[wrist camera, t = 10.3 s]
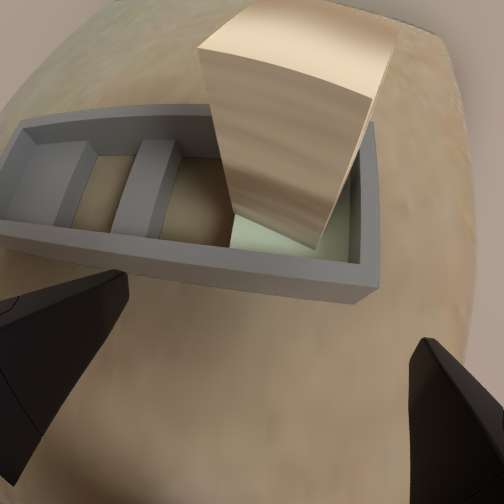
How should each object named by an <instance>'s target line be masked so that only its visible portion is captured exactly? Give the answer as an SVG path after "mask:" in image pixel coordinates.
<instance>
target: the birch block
mask: <svg viewBox="0 0 504 504" xmlns="http://www.w3.org/2000/svg"><path fill="white" fill-rule="evenodd" d="M400 27H401V26H399V25H397V24H394V23H392V22H389V21H386V20H384V19H381V18H378V17H376V16H373V15H370V14H367V13H364V12H361V11H358V10H355V9H352V8H348V7H345V6H342V5H338V4H335V3H331V2H327V1H323V0H257V1H255V2H254V3H252V4H251V5H250V6H248V7H247V8H246V9H244V10H243V11H242V12H240V13H239V14H238V15H236V16H235V17H234V18H232V19H231V20H230V21H229V22H227V23H226V24H225V25H224V26H222V27H221V28H220V29H219V30H217V31H216V32H215V33H214V34H213V35H211V36H210V37H209V38H208V39H207V40H206V41H204V42H203V43H202V44H201V45H200V46H199V47H198V48H197V49H198V54H199V58H200V63H201V68H202V72H203V77H204V81H205V86H206V91H207V95H208V100H209V105H210V109H211V114H212V118H213V123H214V127H215V132H216V136H217V141H218V145H219V150H220V154H221V159H222V163H223V168H224V172H225V177H226V181H227V186H228V190H229V195H230V199H231V204H232V208H233V212H234V213H235V214H237V215H239V216H241V217H244V218H246V219H248V220H250V221H252V222H255V223H257V224H259V225H261V226H263V227H266V228H268V229H270V230H272V231H274V232H276V233H279V234H281V235H283V236H285V237H287V238H289V239H291V240H294V241H296V242H298V243H300V244H302V245H304V246H306V247H309V248H311V249H313V250H315V249H316V247H317V245H318V243H319V241H320V239H321V236H322V234H323V232H324V230H325V228H326V225H327V223H328V221H329V219H330V217H331V214H332V212H333V210H334V208H335V205H336V203H337V201H338V199H339V196H340V194H341V192H342V189H343V187H344V185H345V183H346V180H347V178H348V175H349V173H350V170H351V168H352V165H353V163H354V160H355V157H356V155H357V152H358V150H359V147H360V144H361V142H362V139H363V136H364V134H365V131H366V128H367V126H368V123H369V120H370V117H371V115H372V112H373V109H374V106H375V103H376V101H377V98H378V95H379V92H380V89H381V86H382V83H383V80H384V77H385V74H386V71H387V68H388V65H389V62H390V59H391V56H392V53H393V50H394V47H395V44H396V40H397V37H398V34H399V31H400Z"/></svg>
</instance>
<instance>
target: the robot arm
mask: <svg viewBox="0 0 504 504" xmlns="http://www.w3.org/2000/svg"><path fill="white" fill-rule="evenodd" d="M128 300H129V286H128V276H127V273H126V272H124V271H121V270H117V269H112V270H109V271H105V272H102V273H98V274H94V275H91V276H87V277H83V278H80V279H76V280H73V281H69V282H66V283H62V284H58V285H55V286H51V287H48V288H44V289H41V290H37V291H34V292H30V293H27V294H24V295H21V296H17V297H13V298H10V299H6V300H2V301H0V476H2V477H3V478H4V479H5V480H6V481H7V482H8V483H10V484H11V485H12V486H14V485H15V484H16V482H17V481H18V479H19V477H20V475H21V473H22V472H23V470H24V468H25V466H26V464H27V463H28V461H29V459H30V457H31V456H32V454H33V452H34V450H35V449H36V447H37V445H38V444H39V442H40V440H41V439H42V436H43V435H44V433H45V432H46V430H47V428H48V427H49V425H50V424H51V422H52V420H53V419H54V417H55V415H56V414H57V412H58V411H59V409H60V408H61V406H62V404H63V403H64V401H65V400H66V398H67V397H68V395H69V394H70V392H71V390H72V389H73V387H74V386H75V384H76V383H77V381H78V380H79V378H80V377H81V375H82V374H83V372H84V371H85V369H86V368H87V366H88V365H89V363H90V362H91V361H92V359H93V358H94V356H95V355H96V353H97V352H98V350H99V349H100V348H101V346H102V345H103V343H104V342H105V340H106V339H107V337H108V336H109V334H110V332H111V330H112V329H113V327H114V325H115V323H116V321H117V320H118V318H119V316H120V314H121V313H122V311H123V309H124V307H125V306H126V304H127V302H128ZM408 413H409V431H410V504H504V410H503V407H502V406H501V405H500V404H499V403H498V402H497V401H496V400H495V398H493V396H492V395H491V394H490V393H489V392H488V391H487V390H486V389H485V388H484V387H483V386H482V385H481V384H480V383H479V382H478V381H477V380H476V379H475V378H474V377H473V376H472V375H471V374H470V373H469V372H468V371H467V370H466V369H465V368H464V367H463V366H462V365H461V364H460V363H459V362H458V361H457V360H456V359H455V358H454V357H453V356H452V355H451V354H450V353H449V352H448V351H447V350H446V349H445V348H444V347H443V346H442V345H441V344H440V343H439V342H438V341H437V340H435V339H433V338H426V337H424V338H422V339H421V340H420V341H419V343H418V345H417V347H416V349H415V351H414V353H413V354H412V356H411V359H410V362H409V398H408Z"/></svg>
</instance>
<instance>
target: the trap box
mask: <svg viewBox="0 0 504 504" xmlns="http://www.w3.org/2000/svg"><path fill="white" fill-rule="evenodd" d="M98 155H137V156H136V158H135V161H134V163H133V166H132V169H131V171H130V174H129V177H128V180H127V182H126V185H125V188H124V191H123V194H122V197H121V200H120V203H119V206H118V209H117V212H116V215H115V218H114V221H113V225H112V228H111V231H110V233H104V232H96V231H88V230H80V229H71V225H72V222H73V219H74V216H75V213H76V210H77V207H78V204H79V202H80V199H81V196H82V194H83V191H84V188H85V186H86V183H87V181H88V178H89V176H90V173H91V171H92V168H93V166H94V164H95V161H96V159H97V157H98ZM182 157H200V158H216V159H221V154H220V150H219V145H218V141H217V136H216V132H215V127H214V123H213V118H212V114H211V109H210V105H209V104H161V105H138V106H122V107H110V108H100V109H90V110H82V111H74V112H67V113H60V114H53V115H47V116H41V117H36V118H31V119H25V120H21V122H20V123H19V125H18V127H17V128H16V130H15V132H14V134H13V135H12V137H11V139H10V141H9V143H8V145H7V147H6V148H5V150H4V152H3V154H2V156H1V158H0V246H1V247H3V248H5V249H8V250H12V251H17V252H21V253H26V254H31V255H36V256H40V257H45V258H50V259H55V260H60V261H65V262H70V263H75V264H81V265H86V266H91V267H96V268H102V269H107V270H112V269H117V270H121V271H124V272H126V273H130V274H136V275H142V276H147V277H153V278H160V279H166V280H172V281H178V282H185V283H191V284H198V285H204V286H211V287H218V288H225V289H232V290H239V291H246V292H253V293H261V294H269V295H276V296H284V297H292V298H301V299H309V300H318V301H326V302H335V303H345V304H355V303H357V302H358V301H360V300H362V299H363V298H365V297H366V296H368V295H369V294H371V293H372V292H374V291H375V290H377V289H378V288H379V278H380V205H379V182H378V167H377V154H376V142H375V132H374V123H373V122H370V121H369V123H368V126H367V128H366V131H365V134H364V136H363V139H362V142H361V144H360V147H359V150H358V152H357V155H356V157H355V160H354V163H353V165H352V168H351V170H350V173H349V175H348V178H347V180H346V183H345V185H344V187H343V189H342V192H341V194H340V196H339V199H338V201H337V203H336V205H335V208H334V210H333V212H332V214H331V217H330V219H329V221H328V223H327V225H326V228H325V230H324V232H323V234H322V236H321V239H320V241H319V243H318V245H317V247H316V249H315V250H313V249H311V248H309V247H306V246H304V245H302V244H300V243H298V242H296V241H294V240H291V239H289V238H287V237H285V236H283V235H281V234H279V233H276V232H274V231H272V230H270V229H268V228H266V227H263V226H261V225H259V224H257V223H255V222H252V221H250V220H248V219H246V218H244V217H241V216H239V215H237V214H235V219H234V224H233V230H232V235H231V240H230V246H229V248H225V247H217V246H209V245H201V244H193V243H185V242H177V241H169V240H161V239H159V236H160V232H161V228H162V225H163V221H164V217H165V213H166V210H167V206H168V203H169V199H170V196H171V192H172V189H173V185H174V182H175V178H176V175H177V172H178V169H179V165H180V162H181V159H182Z"/></svg>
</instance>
